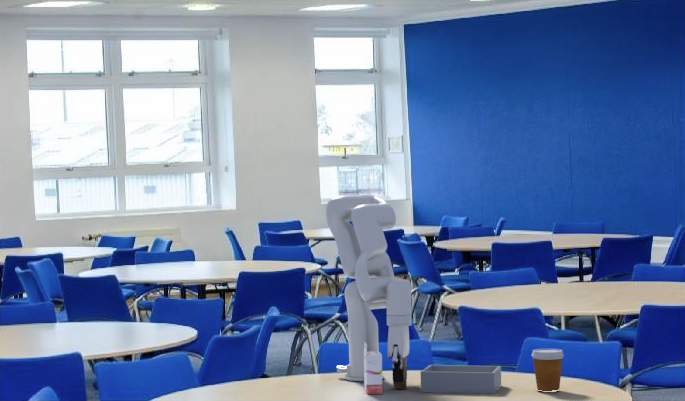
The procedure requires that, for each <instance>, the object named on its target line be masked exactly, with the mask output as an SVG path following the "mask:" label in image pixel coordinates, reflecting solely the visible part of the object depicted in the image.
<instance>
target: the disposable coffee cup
mask: <svg viewBox="0 0 685 401" xmlns="http://www.w3.org/2000/svg"><path fill="white" fill-rule="evenodd" d="M530 356H531V357H532V360H533V368H534V375H535V382H536V388H537V389H538V390H542V391H552V390H558V389H559V390H560V386H561V385H560V384H561V376H562V367H563V365H562V363H563V358H564V356H565V354H564V352H563V350H562V349H561V348H560V349H558V348H536V349H532V353H531V355H530ZM538 390H537V391H538Z"/></svg>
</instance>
